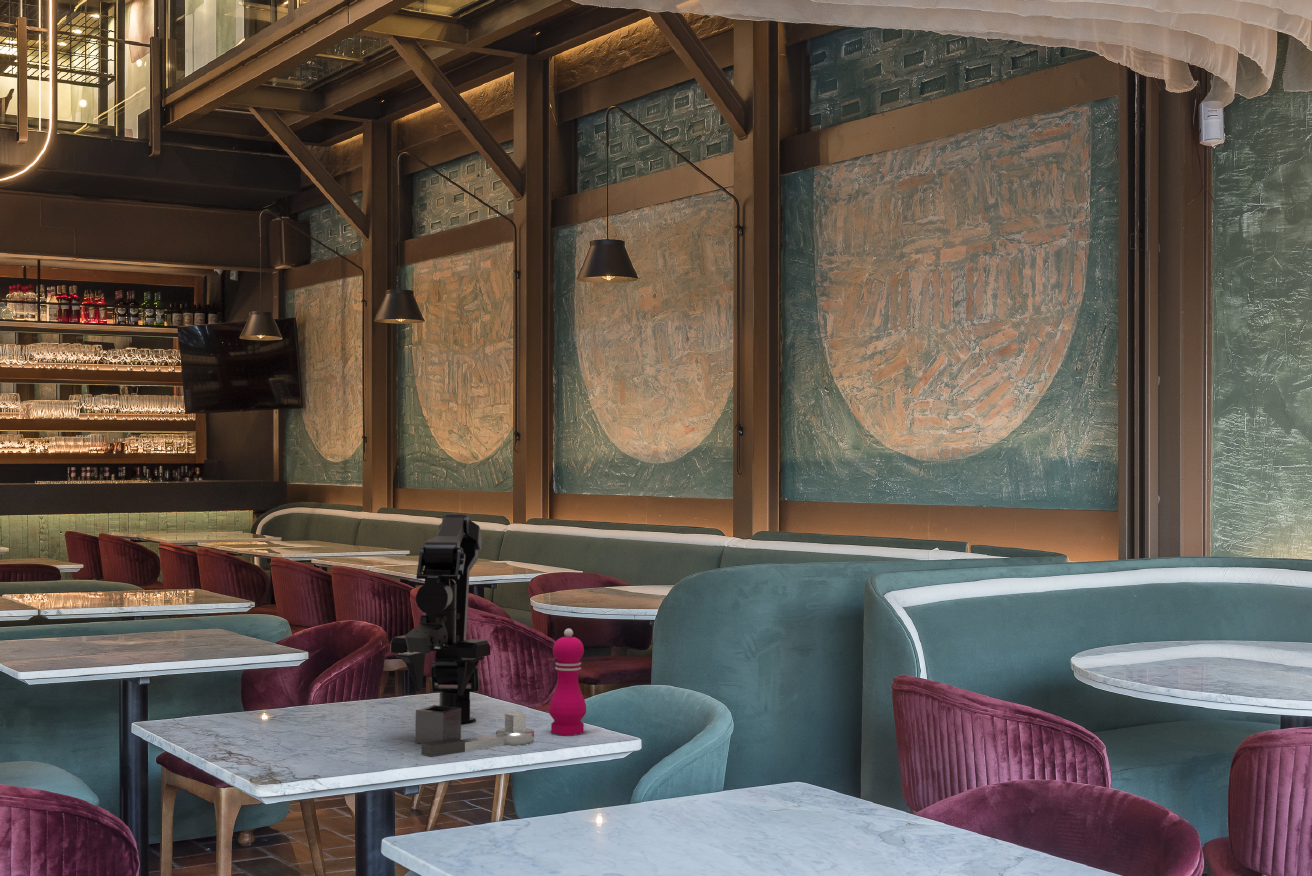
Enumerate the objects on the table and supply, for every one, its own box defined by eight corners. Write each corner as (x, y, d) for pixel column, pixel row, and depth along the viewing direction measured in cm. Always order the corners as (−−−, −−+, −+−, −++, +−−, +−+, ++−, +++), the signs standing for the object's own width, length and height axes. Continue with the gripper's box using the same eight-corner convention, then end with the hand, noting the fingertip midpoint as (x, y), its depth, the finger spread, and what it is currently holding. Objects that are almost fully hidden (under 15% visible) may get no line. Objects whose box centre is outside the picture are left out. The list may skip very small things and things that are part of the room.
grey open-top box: (415, 743, 234) (415, 710, 235) (433, 737, 240) (434, 705, 240) (442, 746, 232) (443, 712, 232) (460, 740, 238) (461, 707, 238)
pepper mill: (588, 729, 249) (589, 626, 250) (583, 736, 242) (584, 630, 243) (552, 728, 250) (553, 626, 251) (545, 735, 243) (546, 630, 243)
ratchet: (415, 752, 227) (416, 723, 227) (519, 736, 241) (519, 709, 242) (436, 759, 221) (437, 728, 222) (541, 742, 236) (541, 714, 236)
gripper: (373, 610, 233) (371, 696, 233) (460, 615, 226) (458, 704, 225) (408, 605, 243) (406, 687, 243) (492, 609, 236) (491, 694, 236)
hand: (439, 693), depth 236 cm, fingers open, 9 cm apart
